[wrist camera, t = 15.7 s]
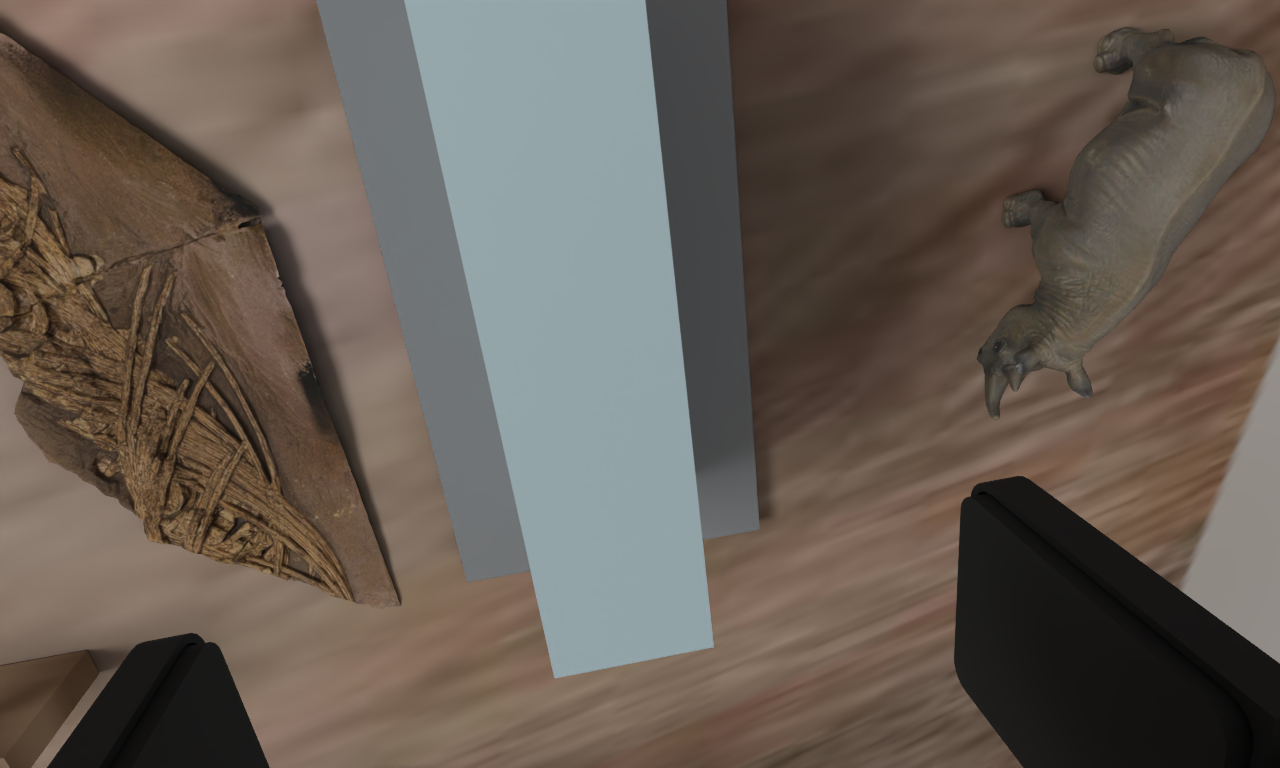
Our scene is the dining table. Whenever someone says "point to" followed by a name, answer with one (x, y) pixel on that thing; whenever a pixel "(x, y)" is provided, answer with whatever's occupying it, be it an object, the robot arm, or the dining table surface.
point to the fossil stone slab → (165, 345)
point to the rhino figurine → (1128, 199)
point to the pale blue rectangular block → (575, 310)
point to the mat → (437, 288)
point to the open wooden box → (39, 703)
